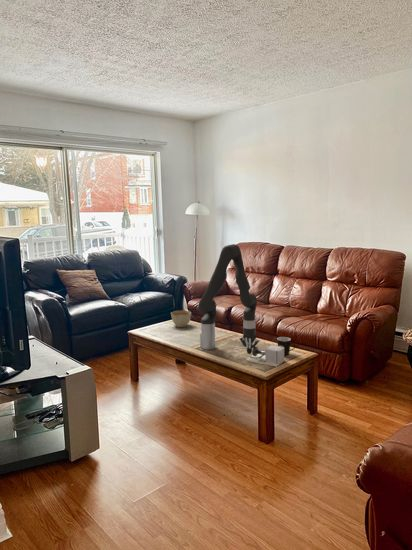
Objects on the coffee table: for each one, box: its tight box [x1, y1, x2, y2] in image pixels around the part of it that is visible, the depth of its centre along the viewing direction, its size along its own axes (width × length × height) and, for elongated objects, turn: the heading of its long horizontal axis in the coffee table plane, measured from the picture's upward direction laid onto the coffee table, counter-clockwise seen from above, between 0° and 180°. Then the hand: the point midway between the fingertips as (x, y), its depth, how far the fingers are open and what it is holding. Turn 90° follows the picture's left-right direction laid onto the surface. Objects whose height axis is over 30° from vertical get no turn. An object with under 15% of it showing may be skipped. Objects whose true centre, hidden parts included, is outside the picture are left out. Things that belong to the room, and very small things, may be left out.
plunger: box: [251, 346, 265, 358], centre depth 247 cm, size 14×9×6 cm, turn 58°
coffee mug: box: [276, 336, 297, 357], centre depth 257 cm, size 12×9×10 cm
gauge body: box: [245, 344, 285, 367], centre depth 248 cm, size 20×12×9 cm, turn 58°
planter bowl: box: [170, 310, 192, 328], centre depth 328 cm, size 16×16×11 cm
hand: (249, 353), depth 254 cm, fingers closed
